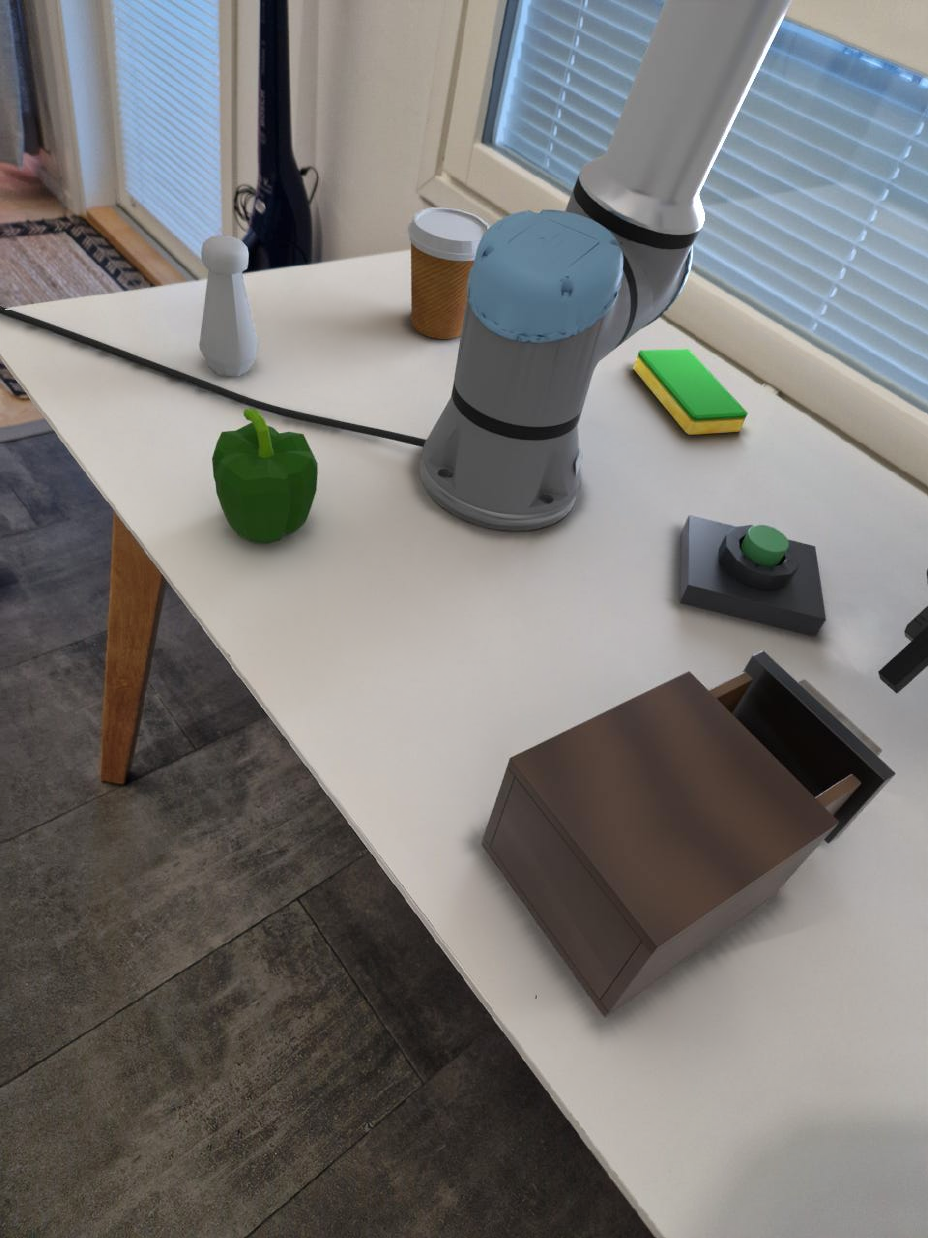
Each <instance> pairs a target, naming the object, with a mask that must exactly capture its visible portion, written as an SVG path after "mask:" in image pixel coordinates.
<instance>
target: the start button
mask: <svg viewBox="0 0 928 1238" xmlns="http://www.w3.org/2000/svg"><path fill="white" fill-rule="evenodd" d="M787 539H788V538H787V537H786V535H785V534H784V533H783V532H781V531H780V530H778V529H777V528H775V527H772V526H770V525H766V524H756V525H754V526H753V527H751V528H750V529H749V530H748V532H747V534H746V536H745V538H744V540H743V542H742V544H741V551H742V552H743V553H744V554H745V556H746V557H748V558H750V559H751V560H753V561H755V562H756V563H758V564H762V565H766V566H776V565H778V564H779V563H780V561H781V560H782V558H783V556H784V554H785V552H786V551H787V549H788V547H789V542H788V540H789V539H788V540H787Z"/></svg>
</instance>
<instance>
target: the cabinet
mask: <svg viewBox="0 0 928 1238" xmlns="http://www.w3.org/2000/svg"><path fill="white" fill-rule="evenodd" d="M709 690H710V689H707V687H706V686H705V685H704V684H703V683H702V682H701V681H700V680H699V679H698V678H697V677H696V676H695V675H694V674H693V673H692V672H691V671H689V670H688V671H686V672H684V673H682V674H680V675H678V676H675V677H674V678H671V679H669V680H667V681H665V682H663V683H661V684H659V685H657V686H655V687H652V688H651V689H649V690H647V691H645V692H642V693H641V694H639V695H636V696H634V697H632V698H630V699H628V700H627V701H624V702H622V703H620V704H618V705H616V706H614V707H611V708H610V709H607V710H606V711H603V712H601V713H599V714H597V715H595V716H593V717H591V718H589V719H586V720H585V721H583V722H581V723H579V724H577V725H575V726H573V727H570V728H568V729H566V730H565V731H562V732H560V733H558V734H556V735H554V736H552V737H550V738H548V739H545V740H544V741H542V742H540V743H538V744H536V745H534V746H531V747H529V748H527V749H525V750H523V751H521V752H519V753H517V754H516V755H513V756H511V757H509V759H508V762H507V766H506V768H505V771H504V774H503V777H502V779H501V783H500V786H499V789H498V792H497V795H496V798H495V801H494V804H493V807H492V809H491V812H490V816H489V819H488V821H487V824H486V827H485V831H484V834H483V837H482V841H481V845H482V846H483V848H484V849H485V851H486V852H487V853H488V855H489V856H490V857H491V859H492V860H493V862H494V864H496V866H497V867H498V869H499V870H500V872H501V873H502V875H503V876H504V877H505V879H506V880H507V881H508V883H509V884H510V886H511V887H512V889H513V890H514V891H515V892H516V895H518V897H519V898H520V900H521V901H522V903H523V905H524V906H525V907H526V908H527V910H528V911H529V913H530V914H531V915H532V917H533V918H534V920H535V922H536V923H537V924H538V925H539V926H540V928H541V930H542V931H543V932H544V934H545V935H546V936H547V938H548V939H549V941H550V942H551V943H552V945H553V946H554V947H555V949H556V950H557V952H558V954H559V955H560V957H562V959H563V961H564V962H565V964H567V966H568V967H569V969H570V971H572V973H573V974H574V976H575V977H576V979H577V980H578V982H579V983H580V985H581V986H582V987H583V989H584V991H586V993H587V994H588V996H589V997H590V999H591V1000H592V1002H593V1003H594V1004H595V1006H596V1007H597V1009H598V1010H599V1011H600V1013H601V1014H602V1015H603V1017H604V1018H607V1017H608V1016H610V1015H612V1014H613V1013H614V1012H615V1011H617V1010H618V1009H620V1008H621V1007H623V1006H624V1005H625V1004H627V1003H628V1002H630V1001H631V1000H633V999H634V998H635V997H637V996H638V995H639V994H640V993H642V992H643V991H645V990H646V989H648V988H650V986H652V985H653V984H655V983H657V982H658V981H659V980H660V979H661V978H663V977H664V976H666V975H667V974H668V973H670V972H671V971H673V970H674V969H675V968H678V967H679V966H680V965H681V964H683V963H684V962H685V961H687V960H689V958H691V957H693V956H694V955H696V954H697V953H698V952H699V951H701V950H702V949H704V948H705V947H707V946H708V945H709V944H711V943H712V942H714V941H715V940H716V939H717V938H719V937H720V936H722V935H723V934H724V933H726V932H728V931H729V930H730V929H731V928H733V927H735V926H736V925H738V924H739V923H740V922H742V921H743V920H744V919H746V918H747V917H749V916H750V915H751V914H753V913H754V912H755V911H757V910H758V909H759V908H761V907H763V906H764V905H765V904H767V903H769V902H770V901H771V900H773V898H774V897H775V896H776V895H777V893H779V891H780V890H781V889H782V888H783V887H784V885H786V883H787V882H788V881H789V880H790V879H791V878H792V877H793V875H794V874H795V873H796V872H797V871H798V870H799V869H800V868H801V867H802V866H803V864H805V862H806V861H807V860H808V858H810V856H811V855H812V854H813V853H814V852H815V851H816V850H817V848H818V847H819V846H820V845H821V844H822V843H823V842H824V841H825V840H824V839H825V838H826V837H827V836H828V835H829V833H830V832H831V831H832V830H833V829H834V828H835V827H836V826H837V825H838V823H839V821H838V820H837V819H836V818H835V817H834V816H833V815H832V814H831V813H830V812H829V811H828V810H827V809H826V808H825V807H824V806H823V805H822V804H821V803H820V802H819V801H818V800H817V799H816V798H815V797H814V796H813V795H812V794H811V793H810V792H809V791H808V790H807V789H806V788H805V787H804V786H803V785H802V784H801V783H800V782H799V781H798V780H797V779H796V778H795V777H794V776H793V775H792V774H791V773H790V772H789V771H788V770H787V769H786V768H785V767H784V766H783V765H782V764H781V763H780V762H779V761H778V760H777V759H776V758H775V757H774V756H773V755H772V754H771V753H770V752H769V751H768V750H767V749H766V748H765V747H764V746H763V745H762V744H761V743H760V742H759V741H758V740H757V739H756V738H755V737H754V736H753V735H752V734H751V733H750V732H749V731H748V730H747V729H746V728H745V727H744V726H743V725H742V724H741V723H740V722H739V721H738V720H737V719H736V718H735V717H734V716H733V715H732V714H731V713H730V712H729V711H728V710H727V709H726V708H725V707H724V706H723V705H722V704H721V703H720V702H719V701H718V700H717V699H716V697H715V696H714V695H713V694H712V693H711V692H710V691H709Z"/></svg>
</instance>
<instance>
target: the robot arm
mask: <svg viewBox="0 0 928 1238" xmlns="http://www.w3.org/2000/svg"><path fill="white" fill-rule="evenodd" d="M792 1H793V0H665V1H664V3H663V5H662V7H661V11H660V13H659V17H658V19H657V20H656V23H655V26H654V28H653V31H652V33H651V36H650V38H649V42H648V44H647V47H646V50H645V52H644V54H643V57H642V60H641V61H640V65H639V67H638V70H637V73H636V75H635V78H634V80H633V82H632V85H631V88H630V90H629V93H628V95H627V98H626V101H625V104H624V106H623V108H622V111H621V114H620V116H619V118H618V121H617V124H616V127H615V128H614V131H613V133H612V137H611V139H610V142H609V144H608V147H607V150H606V151H605V153H604V154H603V155H601V156H598V157H596V158H594V159H591V160H589V161H588V162H585V163H584V164H583V165H582V166H581V168H580V171H579V173H578V176H577V179H576V181H575V184H574V186H573V189H572V191H571V195H570V197H569V199H568V202H567V205H566V207H565V210H560V209H559V210H557V209H542V210H540V212H535V211H533V210H531V209H530V210H523V211H518V212H515V213H511V214H509V215H506V216H504V217H502V218H500V219H498V220H497V221H496V222H495V223H493V224H492V225H490V228H489V229H488V230H487V231H486V232H485V234H484V235H483V236H482V238H481V240H480V242H479V245H478V247H477V251H476V256H475V260H474V264H473V265H472V267H471V270H470V274H469V278H468V285H467V293H468V294H467V301H466V307H465V313H464V319H463V326H462V332H461V335H460V338H459V339H460V340H459V344H458V345H459V346H458V352H457V359H456V366H455V371H454V377H453V383H452V390H451V395H450V398H449V400H448V401H447V403H446V405H445V407H444V408H443V410H442V412H441V414H440V415H439V417H438V419H437V421H436V423H435V424H434V426H433V428H432V430H431V432H430V433H429V435H428V437H427V438H422V437H421V438H420V437H418V436H412V435H408V434H403V433H399V432H395V431H390V430H387V429H386V430H385V429H381V428H376V427H371V426H366V425H361V424H357V423H352V422H346V421H343V420H338V419H334V418H329V417H325V416H320V415H315V414H312V413H311V414H310V413H307V412H301V411H297V410H293V409H289V408H285V407H281V406H278V405H274V404H270V403H266V402H263V401H261V400H257V399H254V398H253V397H252V398H251V397H248V396H246V395H243V394H240V393H237V392H234V391H232V390H230V389H227V388H225V387H222V386H219V385H217V384H214V383H212V382H210V381H206V380H204V379H201V378H198V377H195V376H194V375H191V374H187V373H185V372H182V371H180V370H176V369H174V368H171V367H169V366H166V365H163V364H161V363H158V362H155V361H153V360H150V359H147V358H144V357H142V356H139V355H136V354H134V353H131V352H129V351H126V350H123V349H120V348H117V347H115V346H112V345H110V344H108V343H105V342H102V341H99V340H97V339H94V338H91V337H88V336H85V335H83V334H80V333H77V332H74V331H71V330H69V329H66V328H64V327H62V326H58V325H56V324H53V323H50V322H47V321H44V320H42V319H39V318H36V317H33V316H31V315H28V314H26V313H22V312H19V311H16V310H13V309H11V310H5V309H9V308H8V307H5V306H2V305H0V315H3V316H5V317H8V318H12V319H14V320H17V321H20V322H23V323H26V324H28V325H31V326H35V327H36V328H39V329H42V330H46V331H48V332H51V333H52V334H53V333H54V334H56V335H58V336H62V337H65V338H67V339H70V340H72V341H75V342H78V343H80V344H83V345H86V346H88V347H91V348H94V349H96V350H100V351H102V352H105V353H107V354H110V355H113V356H115V357H117V358H120V359H124V360H125V361H128V362H132V363H133V364H135V365H139V366H142V367H145V368H148V369H150V370H153V371H156V372H158V373H161V374H163V375H166V376H169V377H171V378H174V379H177V380H179V381H182V382H185V383H188V384H190V385H193V386H195V387H199V388H201V389H204V390H206V391H208V392H211V393H214V394H217V395H219V396H222V397H224V398H227V399H229V400H232V401H234V402H237V403H240V404H241V405H242V404H243V405H245V406H249V407H250V408H253V409H257V410H261V411H264V412H268V413H271V414H274V415H278V416H281V417H285V418H288V419H294V420H297V421H298V420H299V421H302V422H306V423H307V422H308V423H312V424H317V425H320V426H326V427H331V428H336V429H340V430H344V431H347V432H348V431H349V432H353V433H358V434H363V435H367V436H372V437H378V438H382V439H386V440H391V441H395V442H399V443H404V444H409V445H411V446H417V447H422V451H421V459H420V466H419V474H420V479H421V480H420V481H421V482H422V484H423V487H424V489H425V490H426V492H427V493H428V495H429V496H430V497H431V498H432V499H433V500H434V501H435V502H436V503H437V504H438V505H439V506H441V507H442V508H443V509H444V510H445V511H447V512H448V513H451V515H454V516H456V517H458V518H460V519H462V520H464V521H467V522H469V523H471V524H474V525H477V526H481V527H484V528H489V529H494V530H500V531H508V532H509V531H510V532H511V531H513V532H521V531H522V532H523V531H533V530H538V529H542V528H545V527H549V526H552V525H554V524H555V523H558V522H559V521H560V520H562V519H563V518H565V517H566V516H567V515H568V514H569V513H570V512H571V510H572V509H573V508H574V505H575V504H576V500H577V497H578V495H579V491H580V488H581V483H582V470H581V469H582V468H581V464H582V462H583V445H581V447H580V441H579V429H578V428H579V427H578V426H579V422H580V418H581V414H582V413H583V412H582V411H583V408H584V405H585V402H586V399H587V395H588V391H589V388H590V384H591V382H592V378H593V375H594V372H595V369H596V367H597V365H598V364H599V363H600V362H601V360H603V359H604V358H606V357H608V355H609V354H610V353H612V352H613V351H615V350H616V349H617V348H618V347H620V346H621V345H622V344H623V343H625V342H626V341H627V340H629V339H630V338H631V337H632V336H634V335H635V334H636V333H638V332H639V331H640V330H642V329H644V328H646V327H648V326H650V325H651V324H652V323H654V322H656V321H657V320H658V319H660V318H661V317H662V316H663V314H664V313H665V312H668V310H669V309H670V308H671V306H672V305H673V304H674V303H675V301H676V300H677V299H678V297H679V296H680V293H681V292H682V291H683V289H684V287H685V285H686V283H687V280H688V278H689V276H690V272H691V268H692V264H693V257H694V244H695V242H696V239H697V237H698V235H699V233H700V232H701V230H702V228H703V225H704V222H705V218H706V217H705V215H706V214H705V211H704V208H703V205H702V201H701V199H700V191H701V190H702V187H703V185H704V184H705V181H706V180H707V177H708V174H709V173H710V170H711V168H712V166H713V164H714V162H715V160H716V158H717V157H718V154H719V152H720V150H721V149H722V146H723V144H724V142H725V139H726V138H727V136H728V133H729V131H730V130H731V127H732V125H733V123H734V121H735V119H736V118H737V115H738V113H739V111H740V108H741V106H742V105H743V102H744V100H745V98H746V97H747V95H748V92H749V90H750V88H751V86H752V84H753V82H754V79H755V78H756V75H757V73H758V72H759V70H760V67H761V66H762V63H763V61H764V60H765V57H766V55H767V53H768V51H769V49H770V46H771V44H772V42H773V41H774V38H775V37H776V34H777V32H778V30H779V28H780V26H781V24H782V22H783V20H784V18H785V16H786V14H787V12H788V9H789V7H790V6H791V4H792ZM926 583H927V585H928V568H927V569H926ZM903 634H904V638H906V639H908V640H909V641H910V642H908V643H907V644H906V645H905V647H904V648H902V649H901V650H900V651H899V652H898V653H897V654H896V655H894V657H892V658H891V659H890V660H889V661H888V662H887V663H886V664H885V665H883V667H881V668H880V669H879V670H878V671H877V673H878V676H879V679H880V681H881V682H883V683H884V684H885V685H886V686H887V687H888V688H889V689H891V690H892V692H894V693H895V694H899V693H900V692H901V691H902V690H903V689H904V688H905V687H906V686H908V685H909V684H910V683H911V682H912V681H913V680H914V679H915V678H916V677H918V676H919V675H920V674H921V673H922V672H923V671H924V670H925V669H926V668H928V605H927V606H925V607H924V608H923V609H922V610H921V611H920V612H919V613H918V614H917V615H916V616H915V617H914V618H913V619H911V620H910V621H909V622H908V623H907V624H906V626H905V628H904V631H903Z"/></svg>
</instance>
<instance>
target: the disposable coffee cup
mask: <svg viewBox="0 0 928 1238" xmlns="http://www.w3.org/2000/svg"><path fill="white" fill-rule="evenodd" d="M490 227H491V225H490V224H489V223H488V222H487V221H486V220H485V219H484V218H482V217H480V216H478V215H477V214H474V213H471V212H469V211H465V210H462V209H457V208H451V207H444V206H443V207H441V206H439V207H437V206H436V207H435V206H433V207H426V208H422V209H420V210H417V211H416V212H415V213H414V215H413V216H412V220H411V222H410V223H409V224H408V225H407V234H408V237H409V238H408V239H409V241H410V276H411V277H410V292H411V293H410V295H411V296H410V301H411V302H410V305H411V306H410V307H411V313H410V315H411V317H410V318H411V319H410V320H411V326H412V327H413V329H414V330H415V331H417V333H419V334H421V335H422V336H426V337H429V338H432V339H438V340H452V339H456V338H458V337H461V332H462V326H463V319H464V313H465V307H466V301H467V294H468V293H467V285H468V278H469V274H470V270H471V267H472V265H473V264H474V260H475V256H476V251H477V247H478V245H479V242H480V240H481V238H482V236H483V235H484V234H485V232H486V231H487V230H488V229H489V228H490Z"/></svg>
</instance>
